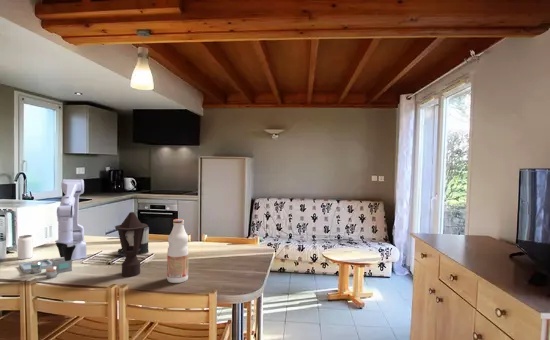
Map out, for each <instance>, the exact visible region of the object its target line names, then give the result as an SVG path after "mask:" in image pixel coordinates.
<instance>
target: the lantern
mask: <svg viewBox="0 0 550 340" xmlns="http://www.w3.org/2000/svg"><path fill="white" fill-rule="evenodd" d="M122 221H123V222H122V223H121V224H118V225H115V226H114V228H115V229H116V230H117V233H118V237H119V242H120V246H121V249H122V252H123V253H125V256H124V257H125V258H124V261H123V262H122V263H121V276H122V277H124V278H132V277H136V276H139V275H140V274H141V261H140V259H139V258H138V256H137V255H139V254H138V252H139V251H140V246H141V242H142V237H143V232H144V228H146V227H149V225H148V224H146V223H143V222H141V220H139V218H138V217H137V215H136V214H135V212H133V211H129V213H128V215H126V218H125V219H124V220H122Z"/></svg>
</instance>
